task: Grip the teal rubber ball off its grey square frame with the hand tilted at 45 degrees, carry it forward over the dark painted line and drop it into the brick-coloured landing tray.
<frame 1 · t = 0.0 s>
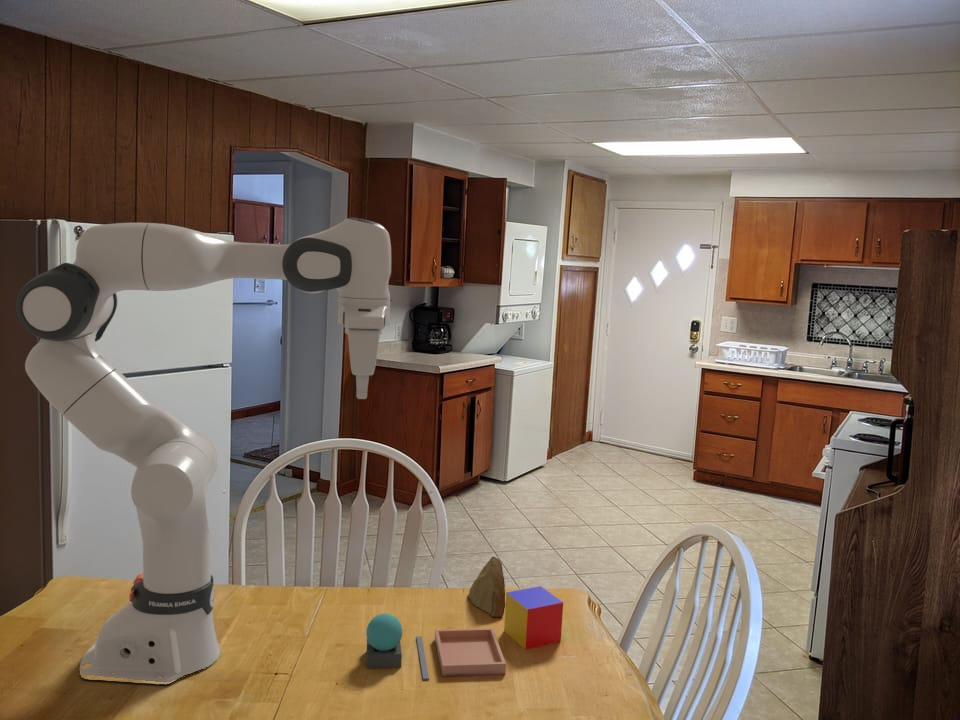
hand: (361, 393, 137), 48 cm above the table, tool pointing down, fingers open, 8 cm apart
ball: (384, 632, 141), point 5 cm above the table, touching grey square frame
grey square frame: (383, 659, 141), on the table
landing tray: (468, 656, 144), on the table
rock: (485, 608, 165), on the table
throw line: (422, 657, 143), on the table
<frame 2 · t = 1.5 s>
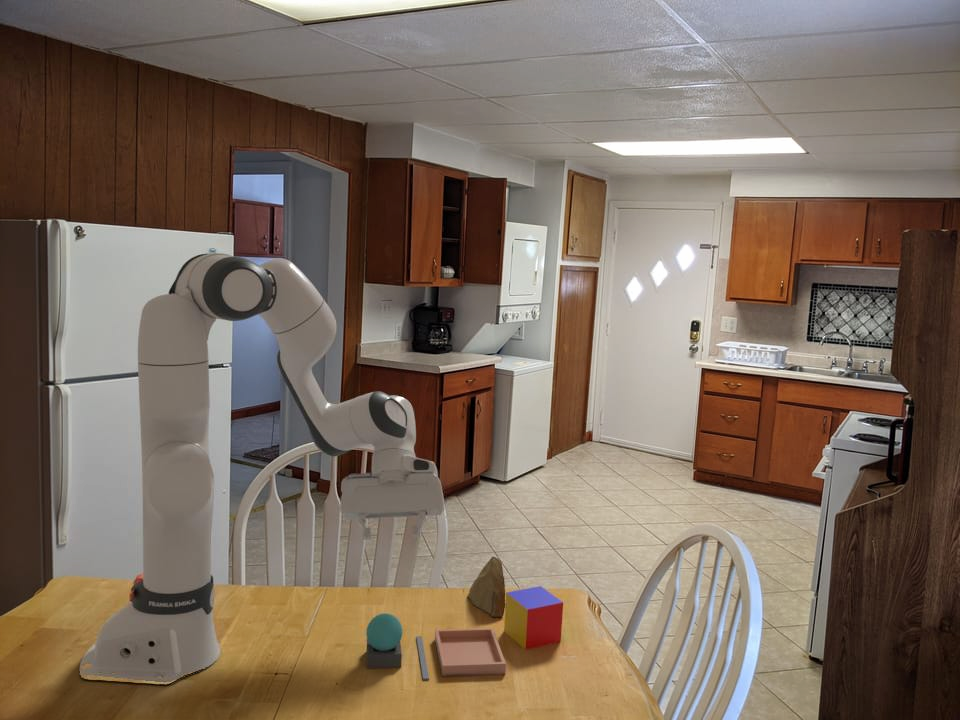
hand: (391, 537, 150), 19 cm above the table, tool tilted 45°, fingers open, 8 cm apart
nothing on the table moved.
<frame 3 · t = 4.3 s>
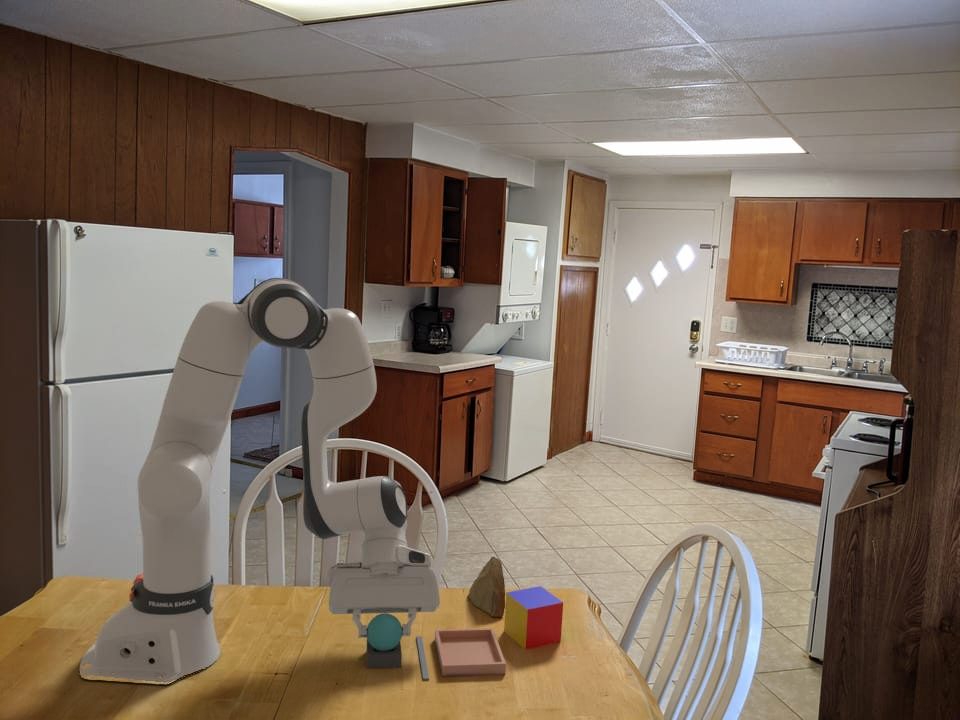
hand: (384, 636, 140), 5 cm above the table, tool tilted 45°, fingers closed on ball, 6 cm apart
ball: (384, 632, 141), point 5 cm above the table, touching gripper, grey square frame
everything else where it was.
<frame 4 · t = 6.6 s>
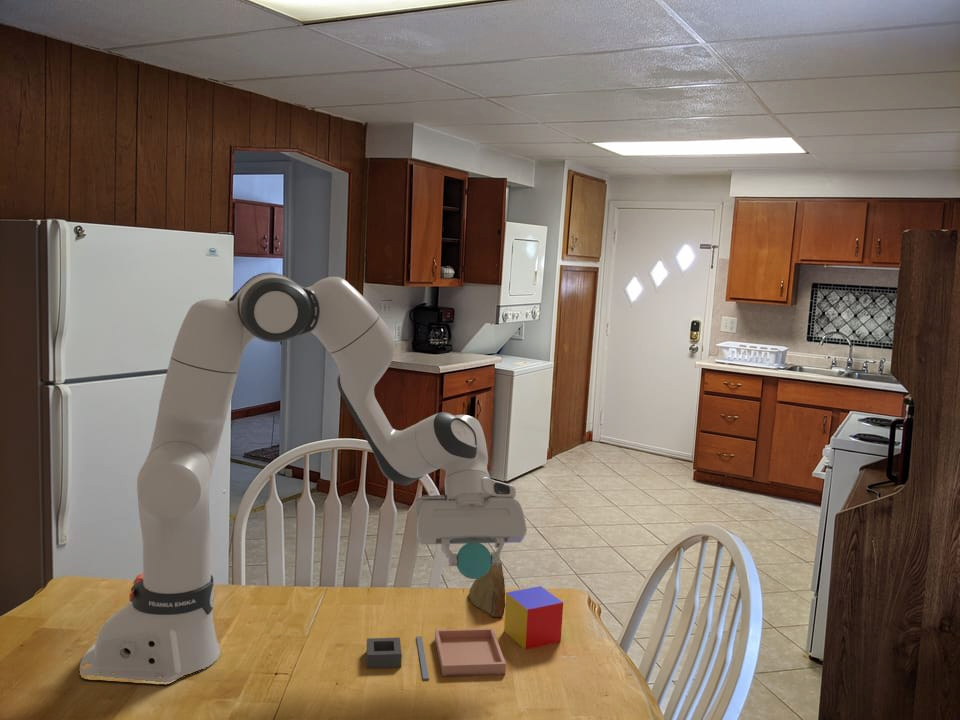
hand: (474, 564, 141), 18 cm above the table, tool tilted 45°, fingers closed on ball, 6 cm apart
ball: (473, 560, 142), point 18 cm above the table, touching gripper
everything else where it was.
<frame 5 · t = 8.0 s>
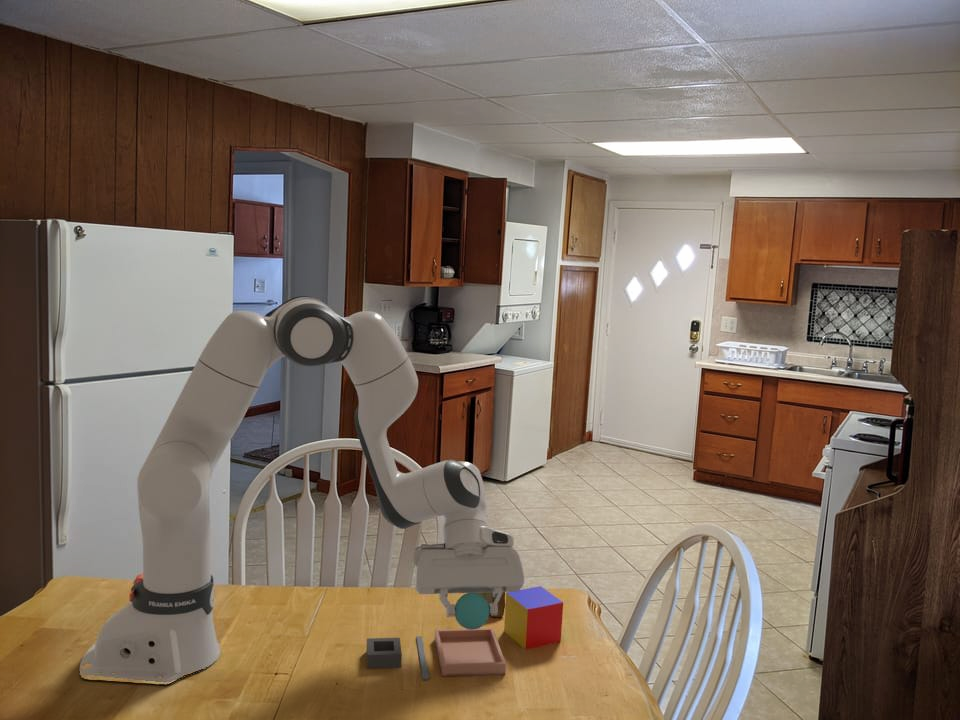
hand: (472, 615, 142), 8 cm above the table, tool tilted 45°, fingers closed on ball, 6 cm apart
ball: (471, 610, 143), point 9 cm above the table, touching gripper
everything else where it was.
when the fingers open (5 cm above the table, at t = 9.1 s): ball drops 2 cm, resting on landing tray.
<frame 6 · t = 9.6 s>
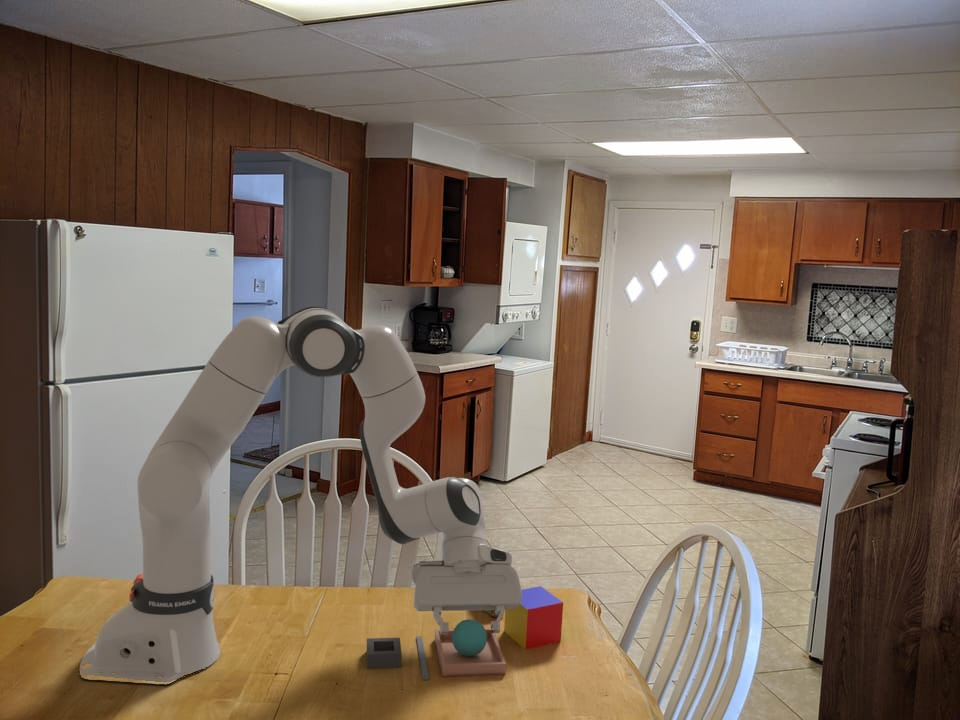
hand: (470, 633, 143), 5 cm above the table, tool tilted 45°, fingers open, 8 cm apart
ball: (469, 637, 143), point 4 cm above the table, touching landing tray
everything else where it was.
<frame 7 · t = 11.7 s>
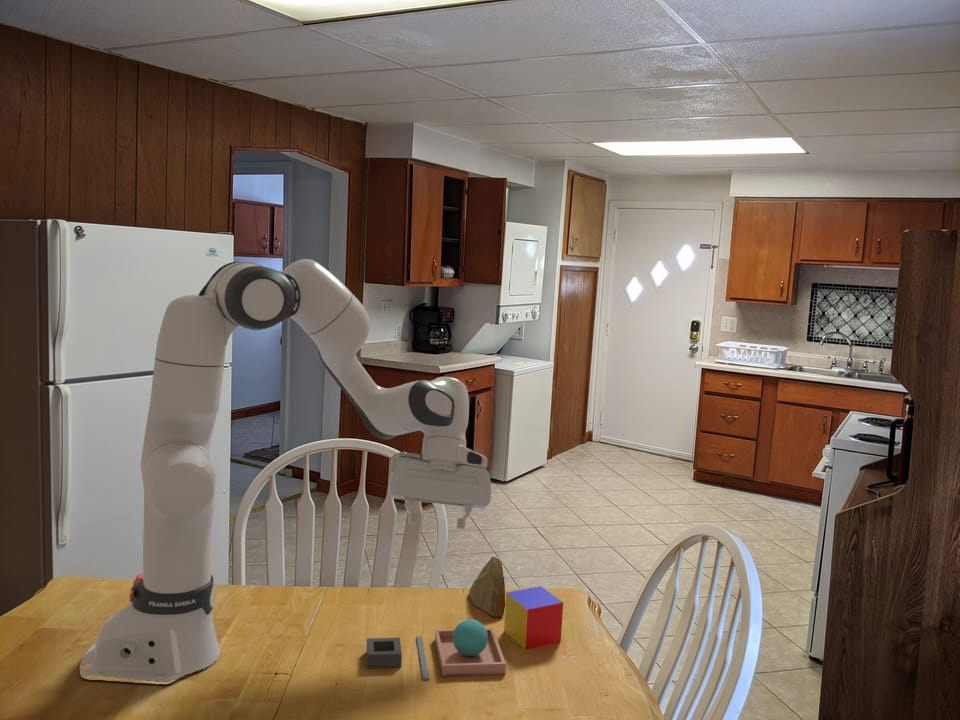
hand: (436, 525, 152), 20 cm above the table, tool tilted 30°, fingers open, 8 cm apart
nothing on the table moved.
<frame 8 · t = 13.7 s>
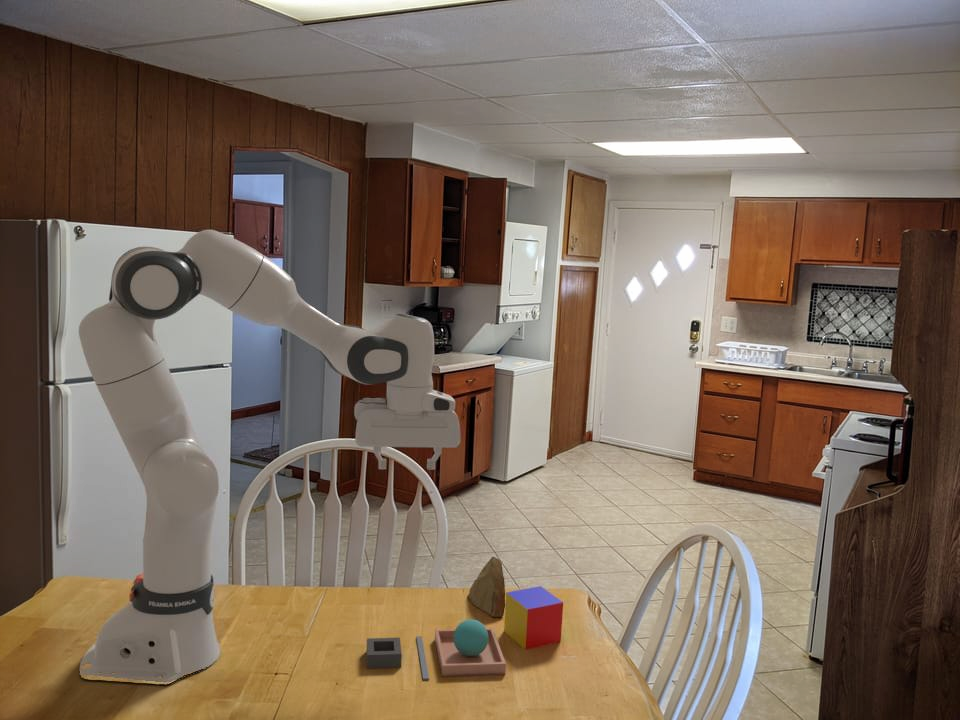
hand: (406, 468, 153), 31 cm above the table, tool pointing down, fingers open, 8 cm apart
nothing on the table moved.
at the end: ball inside the target area on the landing tray (0.2 cm from its centre), point 3.6 cm above the landing tray's base; the gripper is holding nothing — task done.
